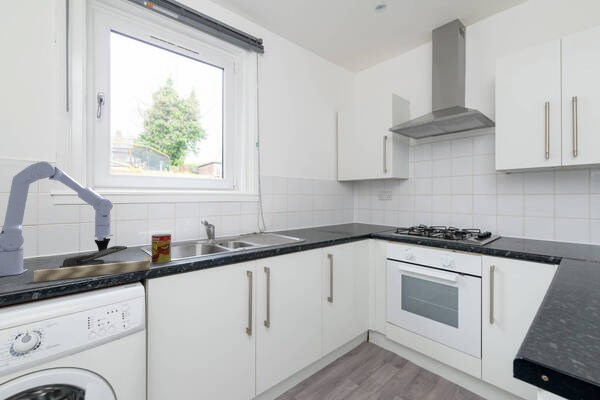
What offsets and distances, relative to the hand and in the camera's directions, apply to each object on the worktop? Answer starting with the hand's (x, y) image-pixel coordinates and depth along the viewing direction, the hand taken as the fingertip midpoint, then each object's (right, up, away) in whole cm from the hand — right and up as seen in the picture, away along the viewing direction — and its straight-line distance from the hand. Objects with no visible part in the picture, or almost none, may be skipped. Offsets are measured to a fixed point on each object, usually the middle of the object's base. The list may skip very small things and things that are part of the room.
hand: (102, 254), depth 125 cm
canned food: (+28, -3, -2) cm, 28 cm away
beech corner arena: (+14, -2, -21) cm, 25 cm away
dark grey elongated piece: (+5, -3, -11) cm, 12 cm away
